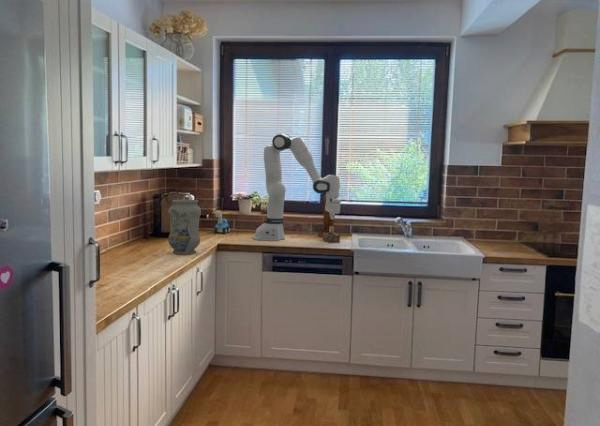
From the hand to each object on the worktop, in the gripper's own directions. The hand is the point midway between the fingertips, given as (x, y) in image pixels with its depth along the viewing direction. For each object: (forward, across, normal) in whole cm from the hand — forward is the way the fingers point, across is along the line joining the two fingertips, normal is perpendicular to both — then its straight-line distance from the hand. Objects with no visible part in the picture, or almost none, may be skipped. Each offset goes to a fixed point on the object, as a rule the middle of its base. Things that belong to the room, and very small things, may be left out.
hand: (331, 219), depth 336 cm
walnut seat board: (+15, 0, 0) cm, 15 cm away
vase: (+15, +31, -99) cm, 104 cm away
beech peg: (+15, 0, 0) cm, 15 cm away
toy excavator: (+15, -40, -70) cm, 82 cm away
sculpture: (+15, -19, +3) cm, 25 cm away
